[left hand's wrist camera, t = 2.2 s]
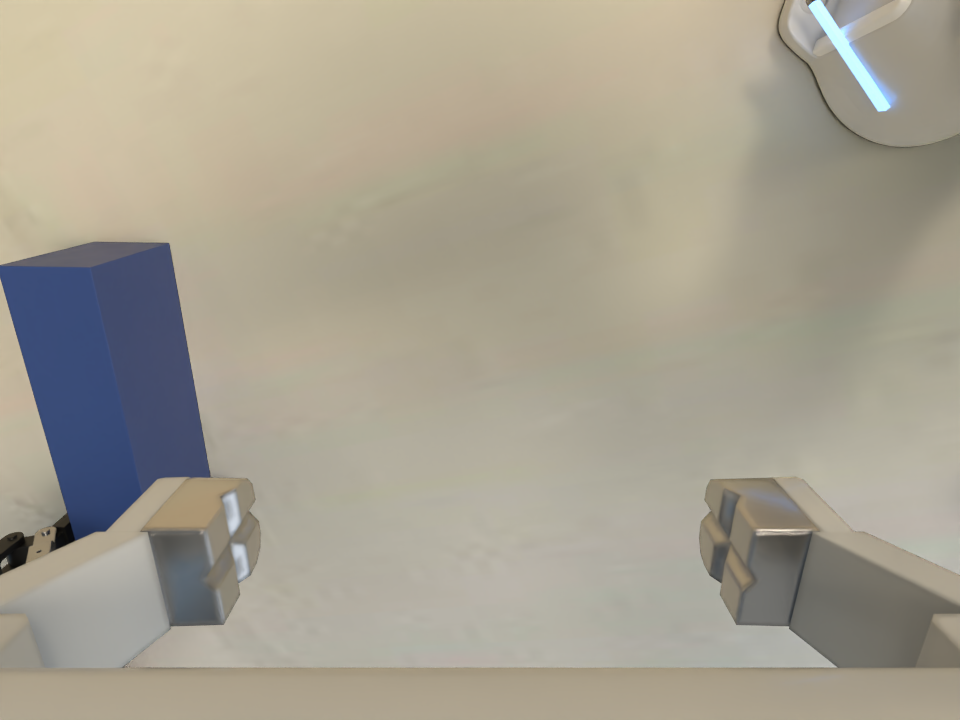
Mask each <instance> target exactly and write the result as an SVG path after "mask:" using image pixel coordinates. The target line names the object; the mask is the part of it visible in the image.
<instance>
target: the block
mask: <svg viewBox="0 0 960 720" xmlns="http://www.w3.org/2000/svg"><path fill="white" fill-rule="evenodd" d="M0 279H1V282H2V286H3V289H4V293H5V296H6V300H7V303H8V307H9V310H10V314H11V317H12V321H13V324H14V328H15V331H16V335H17V338H18V342H19V345H20V349H21V352H22V356H23V359H24V363H25V366H26V370H27V373H28V377H29V380H30V384H31V387H32V391H33V394H34V398H35V401H36V404H37V408H38V411H39V415H40V418H41V422H42V425H43V429H44V432H45V436H46V439H47V443H48V446H49V450H50V453H51V457H52V460H53V464H54V467H55V471H56V474H57V478H58V481H59V485H60V488H61V492H62V495H63V499H64V502H65V506H66V509H67V513H68V516H69V520H70V523H71V527H72V530H73V534H74V537H75V541H77V540H79V539H81V538H83V537H85V536H88V535H90V534H92V533H94V532H106V531H107V530H108V529H109V528H110V527H111V526H112V525H113V524H114V523H115V522H116V520H117V519H118V518H119V517H120V516H121V515H122V514H123V513H124V512H125V511H126V510H127V509H128V508H129V507H130V506H131V505H132V504H133V503H134V502H135V501H136V500H137V499H138V498H139V497H140V496H141V495H142V494H143V493H144V492H145V491H146V490H147V489H148V488H149V487H150V486H151V485H152V484H153V483H154V482H155V481H156V480H157V479H160V478H165V477H190V478H193V477H198V478H210V472H209V466H208V461H207V455H206V449H205V444H204V438H203V432H202V427H201V421H200V415H199V410H198V404H197V399H196V393H195V387H194V382H193V376H192V370H191V365H190V359H189V353H188V348H187V342H186V336H185V331H184V325H183V319H182V314H181V308H180V302H179V297H178V291H177V285H176V280H175V274H174V268H173V263H172V257H171V252H170V246H169V243H128V242H92V243H88V244H84V245H80V246H76V247H72V248H68V249H64V250H60V251H56V252H52V253H47V254H43V255H39V256H35V257H31V258H27V259H23V260H19V261H15V262H11V263H7V264H3V265H0Z"/></svg>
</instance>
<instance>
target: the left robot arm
mask: <svg viewBox="0 0 960 720" xmlns="http://www.w3.org/2000/svg"><path fill="white" fill-rule="evenodd" d="M779 33H780V35H781V37H782V39H783V41H784V42H785V43H786V44H787V45H788V46H789V47H790V48H791V49H792V50H793V51H794V52H795V53H796V54H797V55H798V56H799V57H801V58H802V59H803V60H804V61H806V62H807V63H808V64H809V66H810V67H811V69H812V71H813V73H814V75H815V77H816V79H817V82H818V84H819V87H820V89H821V92H822V94H823V96H824V98H825V100H826V102H827V104H828V106H829V107H830V109H831V110H832V111H833V113H834V114H835V115H836V117H837V118H838V119H839V120H840V121H841V122H842V123H843V124H844V125H845V126H846V127H848V128H849V129H850V130H851V131H853V132H854V133H856V134H858V135H859V136H861V137H863V138H865V139H867V140H870V141H872V142H875V143H879V144H883V145H887V146H895V147H913V146H922V145H927V144H932V143H936V142H939V141H942V140H945V139H948V138H950V137H953V136H955V135H957V134H959V133H960V0H814V2H812V3H811V4H810V5H809V6H808V5H807V4H806V1H805V0H786V1H785V4H784V6H783V9H782V12H781V15H780V19H779ZM254 502H255V495H254V490H253V485H252V483H251V482H250V481H249V480H248V479H247V478H198V477H193V478H190V477H165V478H160V479H157V480H156V481H155V482H154V483H153V484H152V485H151V486H150V487H149V488H148V489H147V490H146V491H145V492H144V493H143V494H142V495H141V496H140V497H139V498H138V499H137V500H136V501H135V502H134V503H133V504H132V505H131V506H130V507H129V508H128V509H127V510H126V511H125V512H124V513H123V514H122V515H121V516H120V517H119V518H118V519H117V520H116V522H115V523H114V524H113V525H112V526H111V527H110V528H109V529H108V530H107V531H106V532H94V533H92V534H90V535H88V536H85V537H83V538H81V539H79V540H77V541H74V542H72V543H70V544H68V545H66V546H63V547H61V548H59V549H57V550H55V551H52V552H50V553H48V554H46V555H44V556H41V557H39V558H37V559H35V560H33V561H30V562H28V563H26V564H24V565H22V566H19V567H17V568H15V569H13V570H10V571H8V572H6V573H4V574H2V575H0V720H960V575H958V574H956V573H954V572H951V571H949V570H947V569H945V568H943V567H940V566H938V565H936V564H934V563H932V562H929V561H927V560H925V559H923V558H921V557H918V556H916V555H914V554H912V553H910V552H907V551H905V550H903V549H901V548H899V547H896V546H894V545H892V544H890V543H888V542H885V541H883V540H881V539H879V538H877V537H874V536H872V535H870V534H868V533H866V532H854V531H853V530H852V529H851V528H850V527H849V526H848V525H847V523H846V522H845V521H844V520H843V519H842V518H841V517H840V516H839V515H838V514H837V513H836V512H835V511H834V510H833V509H832V508H831V507H830V506H829V505H828V504H827V503H826V502H825V501H824V500H823V499H822V498H821V497H820V496H819V495H818V494H817V493H816V492H815V491H814V490H813V489H812V488H811V487H810V486H809V485H808V484H807V483H806V482H805V481H804V480H803V479H800V478H798V477H777V478H746V479H711V480H710V482H709V484H708V486H707V488H706V494H705V502H706V503H707V505H708V506H709V508H710V510H711V512H710V513H709V514H708V515H707V516H706V517H705V518H704V519H703V520H702V521H701V526H700V534H699V542H700V552H701V556H702V559H703V563H704V565H705V567H706V569H707V571H708V573H709V575H710V576H711V577H713V578H714V579H716V580H717V581H719V582H720V583H722V585H721V590H720V596H721V598H722V599H723V601H724V603H725V605H726V607H727V609H728V610H729V612H730V614H731V616H732V618H733V619H734V621H735V623H736V625H764V626H790V627H789V629H790V630H792V631H793V632H794V633H795V634H797V635H798V636H799V637H800V638H802V639H803V640H804V641H805V642H807V643H808V644H809V645H810V646H812V647H813V648H814V649H815V650H817V651H818V652H819V653H820V654H822V655H823V656H824V657H825V658H827V659H828V660H829V661H831V662H832V663H833V664H834V665H836V666H837V667H838V668H122V667H123V666H125V665H126V664H127V663H128V662H130V661H131V660H132V659H133V658H135V657H136V656H137V655H138V654H140V653H141V652H142V651H144V650H145V649H146V648H147V647H149V646H150V645H151V644H152V643H154V642H155V641H156V640H157V639H159V638H160V637H161V636H162V635H164V634H165V633H166V632H167V631H169V630H170V629H171V627H170V626H196V625H224V623H225V621H226V620H227V618H228V616H229V614H230V612H231V610H232V609H233V607H234V605H235V603H236V601H237V599H238V598H239V596H240V590H239V585H238V583H240V582H241V581H243V580H244V579H246V578H247V577H249V576H250V575H251V573H252V571H253V569H254V567H255V565H256V563H257V559H258V555H259V551H260V540H261V532H260V526H259V521H258V520H257V519H256V518H255V517H254V516H253V515H252V514H251V513H250V512H249V510H250V508H251V506H252V505H253V503H254Z"/></svg>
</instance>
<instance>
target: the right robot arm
mask: <svg viewBox="0 0 960 720" xmlns="http://www.w3.org/2000/svg"><path fill="white" fill-rule="evenodd" d="M74 541H75V537H74V534H73V530H72V527H71V523H70V520H69V516H68V513H67V514H66V515H64V516H63V518H61V519H60V520H59V521H58V522H56V523H55V524H54V525H53V526H52V527H46V528H43V529H41V530H39V531H37V532H36V533H35V535H34V536H29V537H24V535H23V533H22V532H15V533H11V534H9V535H7V536H5V537H3V538H2V539H1V540H0V564H1V561H2V560H3V559H4V558H7V560H8V564H7V565H6V566H5V567H4V568H2V569H1V567H0V575H2V574H4V573H6V572H8V571H10V570H13V569H15V568H17V567H19V566H22V565H24V564H26V563H28V562H30V561H33V560H35V559H37V558H39V557H41V556H44V555H46V554H48V553H50V552H52V551H55V550H57V549H59V548H61V547H63V546H66V545H68V544H70V543H72V542H74ZM170 627H171V626H170Z"/></svg>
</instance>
